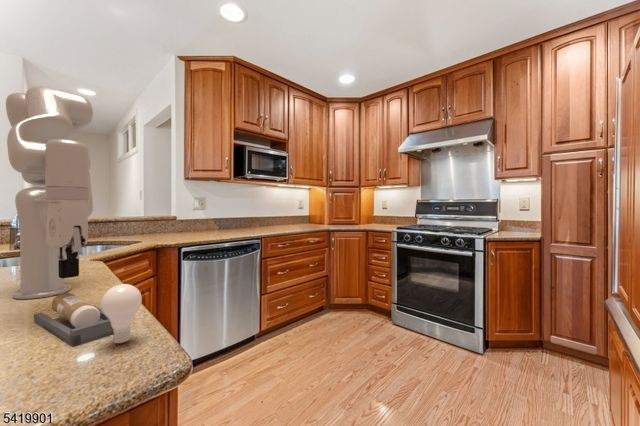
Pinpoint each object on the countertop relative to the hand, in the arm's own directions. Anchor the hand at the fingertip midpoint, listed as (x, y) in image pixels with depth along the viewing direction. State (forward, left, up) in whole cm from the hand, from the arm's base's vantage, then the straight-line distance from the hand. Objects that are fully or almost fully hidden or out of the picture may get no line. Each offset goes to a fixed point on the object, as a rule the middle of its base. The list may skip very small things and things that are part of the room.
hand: (68, 276), depth 66 cm
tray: (+6, 0, -10) cm, 11 cm away
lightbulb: (+23, +1, -10) cm, 25 cm away
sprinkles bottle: (-2, 0, -6) cm, 6 cm away
